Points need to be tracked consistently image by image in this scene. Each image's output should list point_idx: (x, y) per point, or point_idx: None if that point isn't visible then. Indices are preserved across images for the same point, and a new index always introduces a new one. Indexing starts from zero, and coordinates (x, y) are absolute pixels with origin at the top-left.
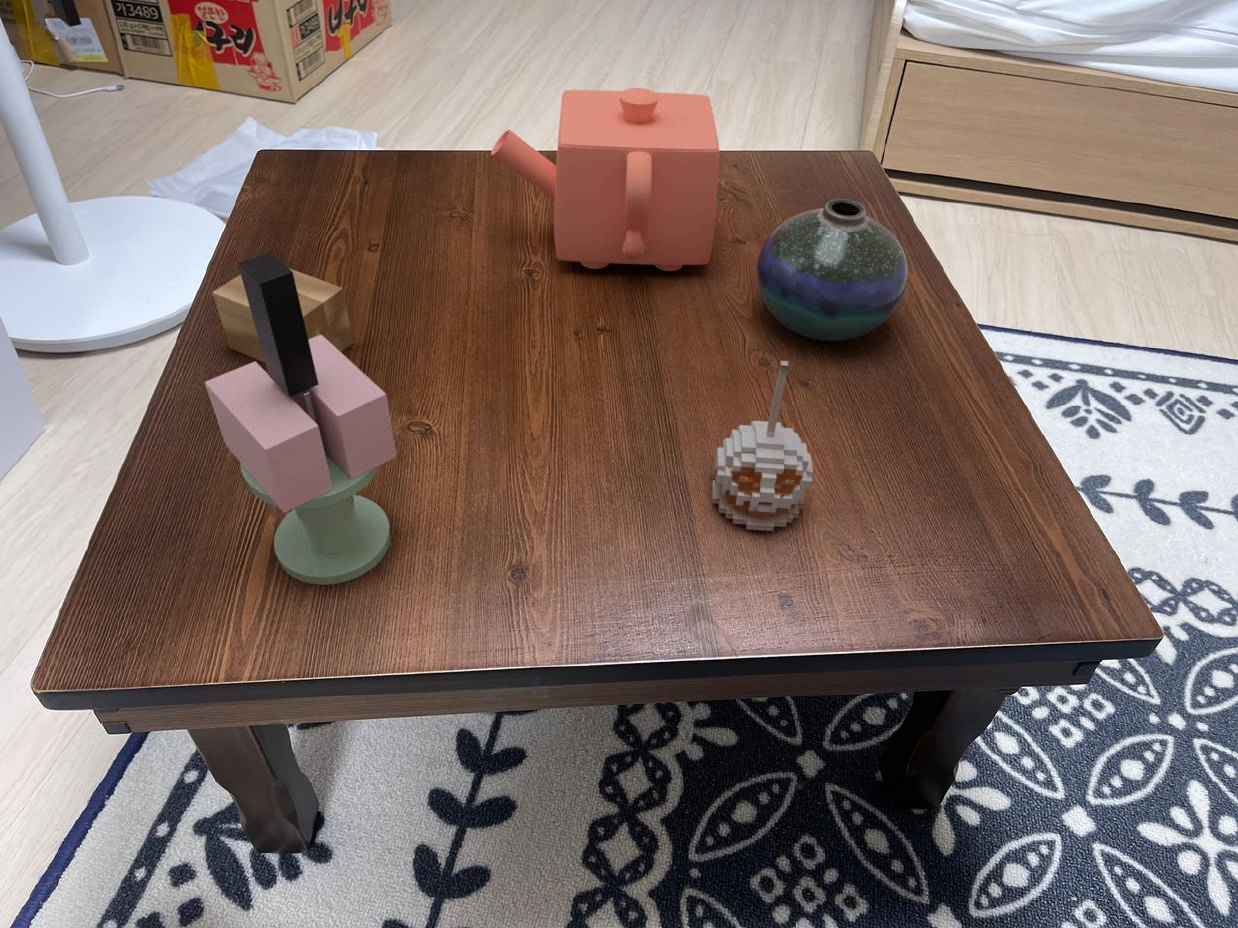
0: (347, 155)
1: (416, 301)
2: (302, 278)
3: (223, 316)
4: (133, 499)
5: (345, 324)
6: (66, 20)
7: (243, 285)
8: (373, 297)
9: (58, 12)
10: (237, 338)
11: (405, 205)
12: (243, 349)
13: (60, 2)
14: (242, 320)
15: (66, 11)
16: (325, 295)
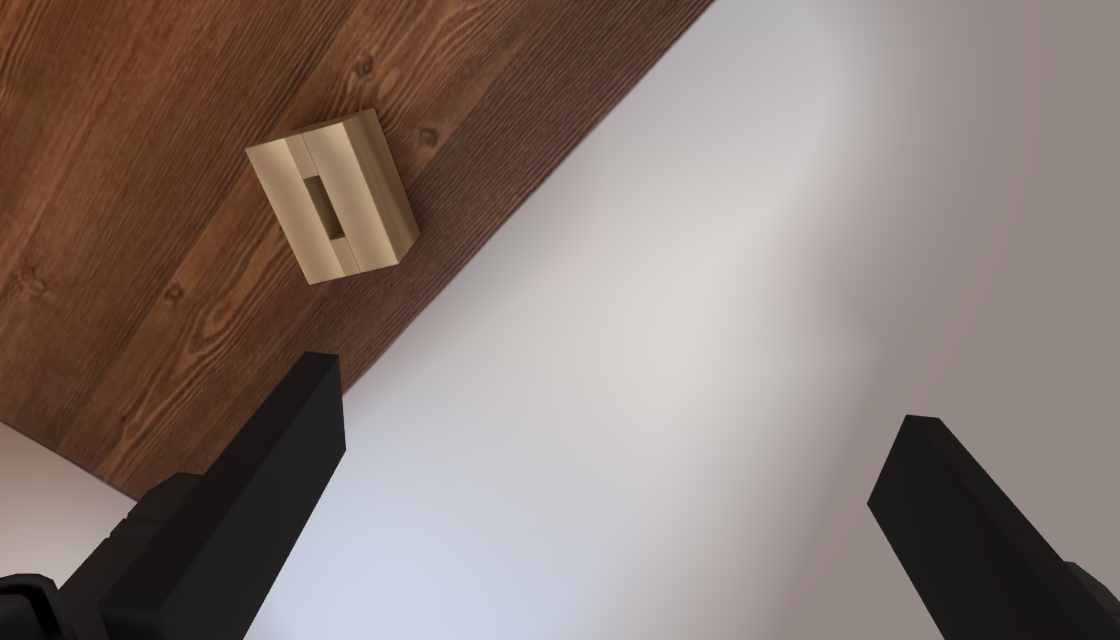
0: (121, 481)
1: (173, 151)
2: (284, 209)
3: (405, 243)
4: (638, 58)
5: (279, 135)
6: (334, 373)
7: (358, 249)
8: (221, 200)
9: (335, 426)
10: (407, 221)
11: (95, 346)
12: (409, 210)
13: (313, 400)
14: (390, 212)
15: (317, 377)
16: (273, 150)
